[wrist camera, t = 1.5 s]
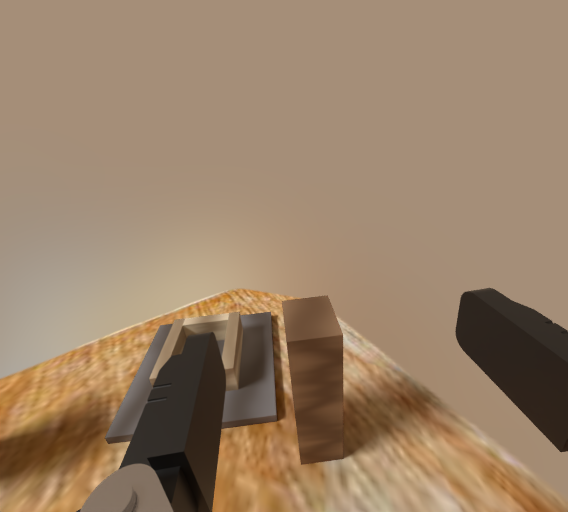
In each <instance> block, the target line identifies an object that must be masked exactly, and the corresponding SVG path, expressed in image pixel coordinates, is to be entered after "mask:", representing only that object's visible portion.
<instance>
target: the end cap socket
mask: <svg viewBox="0 0 568 512" xmlns="http://www.w3.org/2000/svg"><path fill="white" fill-rule="evenodd" d="M208 332H214V334H215V336H216V340H217V343H218V347H219V350H220V354H221V357H222V361H223V364H224V368H225V374H226V393H225V402H224V410H223V419H222V428H229V427H237V426H244V425H252V424H259V423H266V422H274V421H277V409H276V391H275V373H274V355H273V337H272V319H271V312H265V313H257V314H249V315H241V316H240V312H234V313H226V314H218V315H210V316H202V317H194V318H186V319H178V320H175V321H174V323H173V324H168V325H160V327H159V329H158V331H157V333H156V335H155V337H154V339H153V341H152V343H151V345H150V347H149V349H148V351H147V353H146V356H145V358H144V360H143V362H142V364H141V366H140V368H139V370H138V372H137V374H136V376H135V378H134V380H133V382H132V384H131V386H130V388H129V390H128V392H127V394H126V396H125V398H124V400H123V402H122V404H121V406H120V408H119V410H118V412H117V414H116V416H115V418H114V420H113V422H112V424H111V426H110V428H109V430H108V432H107V434H106V436H105V439H106V441H107V443H108V444H110V443H118V442H125V441H131V439H132V437H133V434H134V432H135V429H136V427H137V424H138V422H139V419H140V417H141V414H142V412H143V409H144V407H145V404H147V399H148V397H149V395H150V392H151V390H152V389H153V385H154V382H155V380H156V377H157V375H158V372H159V370H160V369H161V368H162V366H163V365H164V364H165V363H166V362H167V361H168V359H169V358H170V357H171V356H172V355H178V354H182V351H183V348H184V345H185V342H186V339H187V337H188V336H189V335H195V334H202V333H208ZM222 428H221V429H222Z"/></svg>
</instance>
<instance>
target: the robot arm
mask: <svg viewBox="0 0 568 512" xmlns="http://www.w3.org/2000/svg"><path fill="white" fill-rule="evenodd" d="M456 338H457V340H458V343H459V345H460V346H461V348H462V349H463V351H464V352H465V353H466V354H467V355H468V356H469V357H470V358H471V359H472V360H473V361H474V362H475V363H476V364H477V365H478V366H479V367H480V368H481V369H482V370H483V371H484V372H485V374H486V375H488V376H489V378H490V379H491V380H492V381H493V382H494V383H495V384H496V385H497V386H498V387H499V388H500V389H501V390H502V391H503V392H504V393H505V394H506V395H507V396H508V398H509V399H511V401H512V402H513V403H514V404H515V405H516V406H517V407H518V408H519V409H520V410H521V411H522V412H523V413H524V414H525V415H526V416H527V417H528V418H529V419H530V420H531V421H532V422H533V424H534V425H535V426H536V427H537V428H538V429H539V430H540V431H541V432H542V433H543V434H544V435H545V436H546V437H547V438H548V439H549V440H550V441H551V442H552V443H553V444H554V445H555V447H556V448H557V449H558V450H559V451H560V452H565V451H568V331H567V330H566V329H564V328H562V327H561V326H559V325H558V324H556V323H554V324H553V323H552V321H551V320H550V319H548V318H546V317H545V316H543V315H542V314H540V313H538V312H537V311H535V310H534V309H531V308H529V307H526V306H524V305H521V304H519V303H516V302H514V301H512V300H510V299H509V298H507V297H506V296H504V295H503V294H501V293H499V292H498V291H496V290H495V289H491V288H487V289H481V290H474V291H468V292H465V293H463V295H462V296H461V300H460V306H459V312H458V318H457V325H456ZM225 393H226V374H225V368H224V364H223V361H222V357H221V354H220V350H219V347H218V343H217V340H216V336H215V334H214V332H208V333H202V334H195V335H189V336H188V337H187V339H186V342H185V345H184V348H183V351H182V354H178V355H172V356H171V357H170V358H169V359H168V361H167V362H166V363H165V364H164V365H163V366H162V368H161V369H160V370H159V372H158V375H157V377H156V380H155V382H154V385H153V389H152V390H151V392H150V395H149V397H148V399H147V404H145V407H144V409H143V412H142V414H141V417H140V419H139V422H138V424H137V427H136V429H135V432H134V434H133V437H132V439H131V442H130V444H129V446H128V449H127V451H126V454H125V456H124V459H123V461H122V463H121V466H120V468H119V469H118V470H117V471H115V472H114V473H112V474H111V475H110V476H108V477H107V478H106V479H105V480H103V481H102V482H101V483H100V484H99V485H98V486H97V487H96V489H95V490H94V491H93V492H92V493H91V494H90V496H89V497H88V499H87V500H86V502H85V503H84V505H83V507H82V509H80V510H78V511H77V512H212V507H213V498H214V489H215V480H216V472H217V463H218V454H219V445H220V437H221V428H222V419H223V410H224V402H225Z"/></svg>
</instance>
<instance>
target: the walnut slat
mask: <svg viewBox="0 0 568 512" xmlns="http://www.w3.org/2000/svg"><path fill="white" fill-rule="evenodd" d="M282 307H283V315H284V324H285V332H286V341H287V349H288V358H289V366H290V375H291V384H292V392H293V401H294V409H295V418H296V426H297V434H298V443H299V451H300V460H301V465H302V464H309V463H316V462H323V461H331V460H338V459H343V333H342V331H341V328H340V326H339V323H338V321H337V318H336V315H335V313H334V310H333V308H332V305H331V303H330V300H329V298H328V296H319V297H311V298H303V299H295V300H287V301H282Z"/></svg>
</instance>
